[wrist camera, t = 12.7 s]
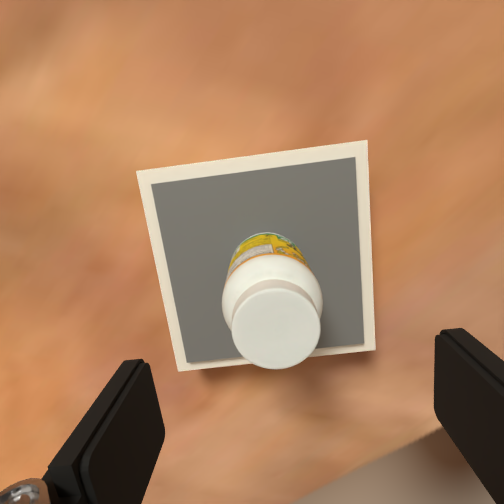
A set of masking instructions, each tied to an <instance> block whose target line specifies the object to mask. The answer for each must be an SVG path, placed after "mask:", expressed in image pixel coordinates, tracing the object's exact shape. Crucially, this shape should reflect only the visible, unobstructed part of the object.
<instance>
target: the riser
mask: <svg viewBox="0 0 504 504" xmlns="http://www.w3.org/2000/svg"><path fill="white" fill-rule="evenodd" d="M136 173H137V178H138V183H139V188H140V192H141V197H142V202H143V207H144V211H145V216H146V221H147V226H148V230H149V235H150V240H151V245H152V249H153V254H154V259H155V263H156V268H157V273H158V278H159V282H160V287H161V292H162V297H163V301H164V306H165V311H166V316H167V320H168V325H169V330H170V335H171V339H172V344H173V349H174V354H175V358H176V363H177V368H178V371H187V370H196V369H205V368H215V367H224V366H233V365H242V364H251V362H249V361H248V360H246V359H245V358H244V357H243V356H242V355H241V354H240V352H239V351H238V349H237V348H236V346H235V344H234V341H233V338H232V331H231V330H230V328H229V327H228V325H227V323H226V321H225V318H224V315H223V310H222V295H223V290H224V286H225V282H226V278H227V274H228V269H229V265H230V262H231V259H232V256H233V254H234V252H235V250H236V248H237V247H238V246H239V245H240V244H241V243H242V242H243V241H244V240H245V239H247V238H249V237H250V236H253V235H255V234H258V233H265V232H270V233H276V234H279V235H281V236H283V237H285V238H287V239H289V240H290V241H292V242H293V243H294V244H295V245H296V246H297V247H298V248H299V250H300V251H301V253H302V255H303V257H304V258H305V260H306V262H307V264H308V265H309V267H310V269H311V271H312V272H313V274H314V276H315V278H316V279H317V281H318V283H319V285H320V289H321V292H322V298H323V308H322V314H321V318H320V325H321V330H320V337H319V341H318V344H317V345H316V347H315V349H314V351H313V352H312V353H311V354H310V355H309V356H308V357H315V356H325V355H334V354H343V353H352V352H361V351H370V350H375V324H374V299H373V273H372V248H371V222H370V197H369V171H368V146H367V140H363V141H356V142H348V143H341V144H333V145H326V146H319V147H311V148H304V149H296V150H289V151H282V152H274V153H267V154H259V155H252V156H245V157H237V158H230V159H222V160H215V161H207V162H200V163H193V164H185V165H178V166H170V167H163V168H156V169H148V170H141V171H136Z"/></svg>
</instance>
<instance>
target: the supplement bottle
mask: <svg viewBox="0 0 504 504" xmlns="http://www.w3.org/2000/svg"><path fill="white" fill-rule="evenodd" d="M322 308H323V298H322V292H321V289H320V285H319V283H318V281H317V279H316V278H315V276H314V274H313V272H312V271H311V269H310V267H309V265H308V264H307V262H306V260H305V258H304V257H303V255H302V253H301V251H300V250H299V248H298V247H297V246H296V245H295V244H294V243H293V242H292V241H290V240H289V239H287V238H285V237H283V236H281V235H279V234H276V233H270V232H265V233H258V234H255V235H253V236H250V237H249V238H247V239H245V240H244V241H243V242H242V243H241V244H240V245H239V246H238V247H237V248H236V250H235V252H234V254H233V256H232V259H231V262H230V265H229V269H228V274H227V278H226V282H225V286H224V290H223V295H222V310H223V315H224V318H225V321H226V323H227V325H228V327H229V328H230V330H231V331H232V338H233V341H234V344H235V346H236V348H237V349H238V351H239V352H240V354H241V355H242V356H243V357H244V358H245V359H246V360H248V361H249V362H251V363H253V364H254V365H257V366H259V367H262V368H267V369H284V368H289V367H292V366H294V365H297V364H299V363H300V362H302V361H304V360H305V359H306V358H307V357H308V356H309V355H310V354H311V353H312V352H313V351H314V349H315V347H316V345H317V344H318V341H319V337H320V330H321V325H320V318H321V314H322Z"/></svg>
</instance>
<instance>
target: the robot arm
mask: <svg viewBox="0 0 504 504" xmlns="http://www.w3.org/2000/svg"><path fill="white" fill-rule="evenodd" d="M434 410H435V414H436V416H437V418H438V420H439V421H440V423H441V424H442V426H443V427H444V429H445V430H446V431H447V433H448V434H449V436H450V437H451V439H452V440H453V442H454V443H455V445H456V446H457V447H458V449H459V450H460V452H461V453H462V455H463V456H464V458H465V459H466V461H467V462H468V463H469V465H470V466H471V468H472V469H473V471H474V472H475V474H476V475H477V476H478V478H479V479H480V481H481V482H482V484H483V485H484V487H485V488H486V490H487V491H488V492H489V494H490V495H491V497H492V498H493V500H494V501H495V503H496V504H504V361H503V360H502V359H500V358H499V357H498V356H497V355H495V354H494V353H493V352H492V351H490V350H489V349H488V348H487V347H486V346H484V345H483V344H482V343H481V342H479V341H478V340H477V339H476V338H474V337H473V336H472V335H471V334H470V333H468V332H467V331H466V330H464V329H463V328H456V329H445V330H442V331H441V332H440V335H436V337H435V364H434ZM164 438H165V427H164V423H163V419H162V415H161V410H160V406H159V402H158V398H157V394H156V390H155V385H154V381H153V377H152V373H151V369H150V365H149V364H148V363H145V362H144V361H143V359H135V360H125V361H124V362H123V363H122V364H121V365H120V367H119V368H118V370H117V371H116V372H115V374H114V375H113V376H112V378H111V379H110V381H109V382H108V383H107V385H106V386H105V388H104V389H103V390H102V392H101V393H100V395H99V396H98V397H97V399H96V400H95V402H94V403H93V404H92V406H91V407H90V409H89V410H88V411H87V413H86V414H85V416H84V417H83V418H82V420H81V421H80V423H79V424H78V425H77V427H76V428H75V429H74V431H73V432H72V434H71V435H70V436H69V438H68V439H67V441H66V442H65V443H64V445H63V446H62V448H61V449H60V450H59V452H58V453H57V455H56V456H55V457H54V459H53V460H52V462H51V463H50V464H49V466H48V470H47V472H46V473H45V475H44V476H43V478H42V479H39V478H29V479H26V480H22V481H19V482H17V483H15V484H13V485H10V486H9V487H7V488H6V489H4V490H3V491H1V492H0V504H141V503H142V500H143V497H144V495H145V492H146V489H147V486H148V484H149V481H150V478H151V475H152V472H153V470H154V467H155V464H156V461H157V459H158V456H159V453H160V450H161V448H162V445H163V442H164Z"/></svg>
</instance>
